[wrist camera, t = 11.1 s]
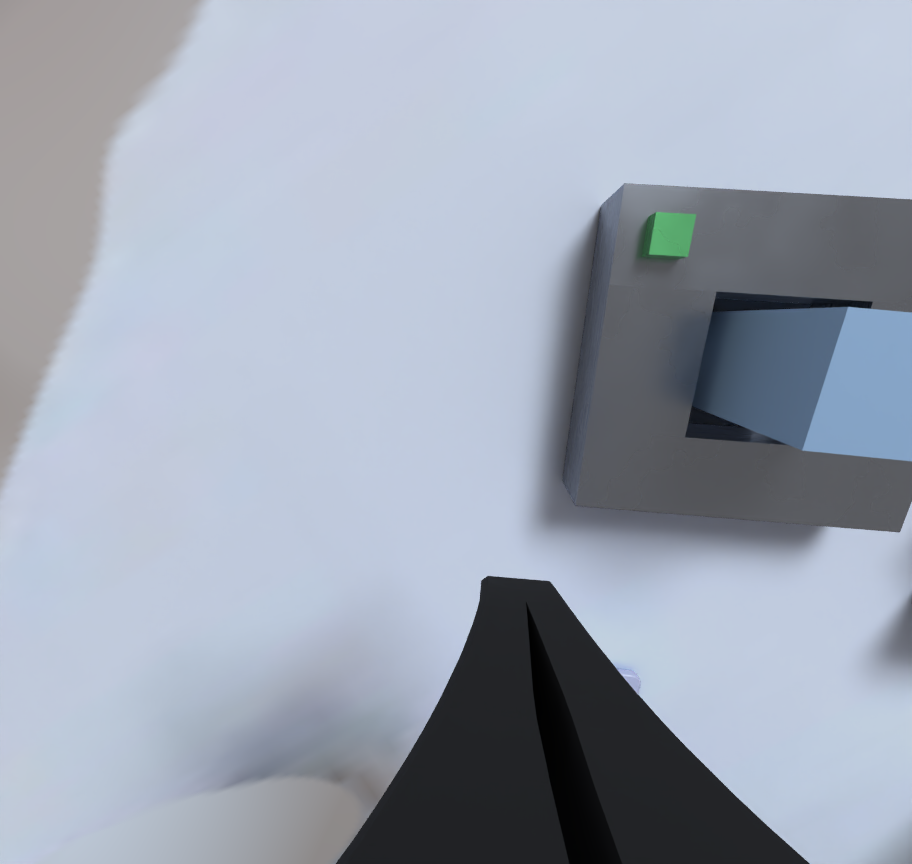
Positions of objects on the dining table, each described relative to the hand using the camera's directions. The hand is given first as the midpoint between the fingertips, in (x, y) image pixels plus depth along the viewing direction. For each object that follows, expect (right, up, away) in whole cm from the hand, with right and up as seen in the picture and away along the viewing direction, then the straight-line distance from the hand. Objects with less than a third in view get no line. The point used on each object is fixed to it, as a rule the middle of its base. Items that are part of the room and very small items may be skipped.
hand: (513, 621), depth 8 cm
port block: (+10, +6, +9) cm, 15 cm away
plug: (+10, +7, +9) cm, 15 cm away
